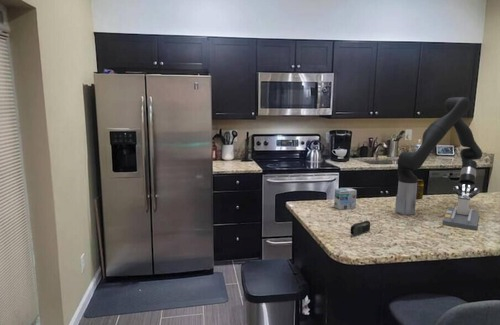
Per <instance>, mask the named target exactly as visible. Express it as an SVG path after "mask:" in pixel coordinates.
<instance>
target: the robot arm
mask: <svg viewBox="0 0 500 325" xmlns="http://www.w3.org/2000/svg"><path fill="white" fill-rule="evenodd" d="M470 108H471V100H470V99H469V98H468V97H464V96H460V97H459V96H455V97H454V96H453V97H448V98H447V99H445V101H444V111H445V113H446V114H445V115H444V116H441V117H440V118H439V119H436V120H435V121H433V122H432V123H430V124H429V125H428V126H427V128H426V129H425V130H424V132H423V134H422V139H421V145H420V146H419V147H418V149H417V150H415V151H414V152H412V151H402V152H401V153H400V154H399V156H398V157H397V158H398V159H397V177H398V183H397V184H398V186H397V194H396V195H395V205H394V206H395V207H394V212H395V213H398V214H401V215H403V216H404V215H406V216H407V215H408V216H409V215H410V216H411V215H412V216H414V215H415V213H416V205H417V204H416V202H417V200H416V192H417V180H418V179H419V178H418V176H417V175H415V174H414V172H413V171H417V170H419V169H420V168H421V167H422V166H423V164H424V163H425V161H426V160H427V159H428V157H429V155H430V154H431V153H432V151H433V150H434V149H435V148H436V147H437V145H438V144H439V143H440V142H441V141H442V139H444V137H445V136H446V135H447V133H448V132H449V131H450V130H451V128H453V127H454V129H455V132H456V134H457V137H458V140H459V143H460V145H461V147H463V148H462V149H461V151H460V153H459V155H460V159H461V169H460V172H459V179H458V180H459V182H458V183H457V185H456V186H455V185H454V186H453V187H452V189H453V192H454V193H456V195H457V197H458V196H467V197H470V199H473V198H474V197H475V196H477V195H478V194H479V193H480V191H481V190H480V189H479V188H477V187H476V180H477V166H478V163H477V162H476V160H480V159H482V157H483V152H482V149H481V148H480V146H479V145H478V143H477V142H476V140H475V138H474V134H473V131H472V130H471V128H470V126H468V124H466V122H465V121H464V120H463V119H462V117H463V116H465V115H466V114H467V112H468V111H469V110H470Z"/></svg>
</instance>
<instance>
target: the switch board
mask: <svg viewBox="0 0 500 325" xmlns="http://www.w3.org/2000/svg"><path fill="white" fill-rule="evenodd" d="M479 216H480V211H477V210H473V208H469V213H468V215H462V214H457V206H454V207H448V209H447V210H446V212H445V214H444V218H443V220H442V225H444V226H448V227H454V228H461V229H466V230H473V231H478V224H479Z"/></svg>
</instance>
